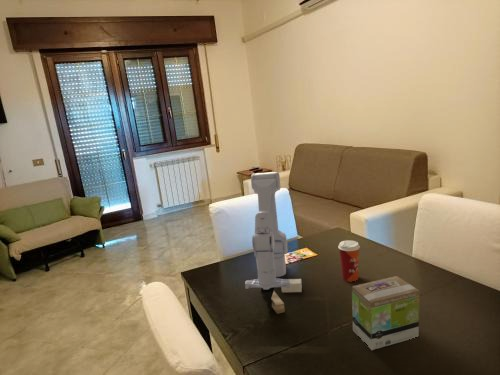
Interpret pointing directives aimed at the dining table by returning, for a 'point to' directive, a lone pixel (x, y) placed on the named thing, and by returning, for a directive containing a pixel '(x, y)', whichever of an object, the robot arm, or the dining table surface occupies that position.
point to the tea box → (385, 312)
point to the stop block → (293, 286)
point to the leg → (277, 303)
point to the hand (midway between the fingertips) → (270, 307)
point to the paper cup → (349, 260)
